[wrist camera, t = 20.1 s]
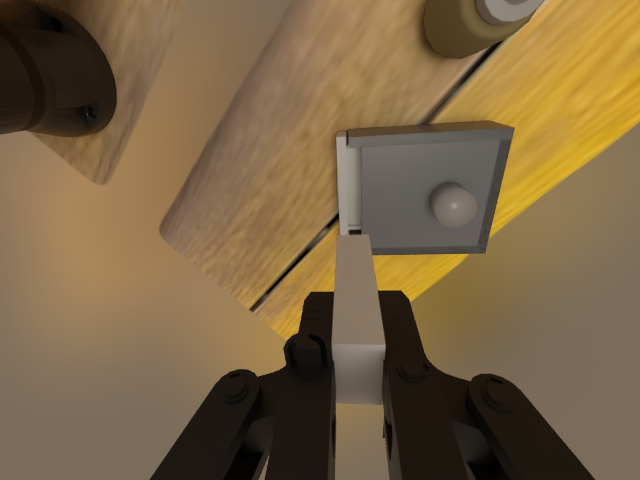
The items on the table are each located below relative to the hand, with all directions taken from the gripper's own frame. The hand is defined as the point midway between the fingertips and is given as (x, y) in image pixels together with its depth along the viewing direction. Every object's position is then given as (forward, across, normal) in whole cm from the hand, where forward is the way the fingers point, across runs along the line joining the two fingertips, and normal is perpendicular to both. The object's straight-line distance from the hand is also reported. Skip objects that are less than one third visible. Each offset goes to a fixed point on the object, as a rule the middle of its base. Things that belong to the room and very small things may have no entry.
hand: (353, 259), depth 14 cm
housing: (+29, +9, -6) cm, 31 cm away
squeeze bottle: (+30, +12, +13) cm, 34 cm away
